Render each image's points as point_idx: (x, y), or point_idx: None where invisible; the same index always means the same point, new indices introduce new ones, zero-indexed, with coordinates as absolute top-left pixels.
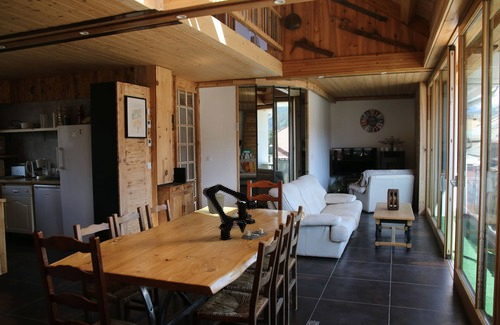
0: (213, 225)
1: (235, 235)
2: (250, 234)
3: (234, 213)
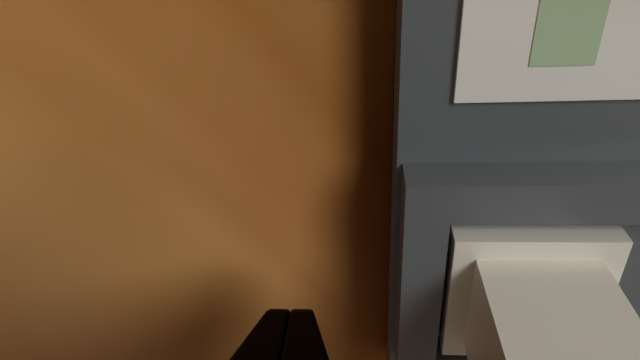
0: None
1: (30, 230)
2: (627, 256)
3: None
